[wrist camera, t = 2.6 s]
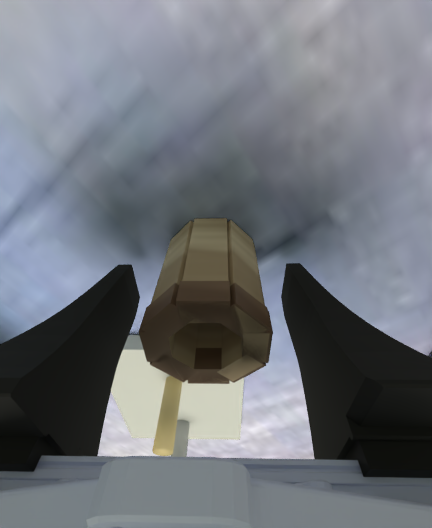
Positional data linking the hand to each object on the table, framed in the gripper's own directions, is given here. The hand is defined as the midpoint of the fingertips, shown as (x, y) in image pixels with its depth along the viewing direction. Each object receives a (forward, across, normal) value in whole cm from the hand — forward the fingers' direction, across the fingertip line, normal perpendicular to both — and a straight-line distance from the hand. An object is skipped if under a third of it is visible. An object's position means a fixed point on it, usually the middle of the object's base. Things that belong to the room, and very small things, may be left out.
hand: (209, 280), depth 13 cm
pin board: (+2, +3, +13) cm, 14 cm away
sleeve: (+2, 0, 0) cm, 2 cm away
